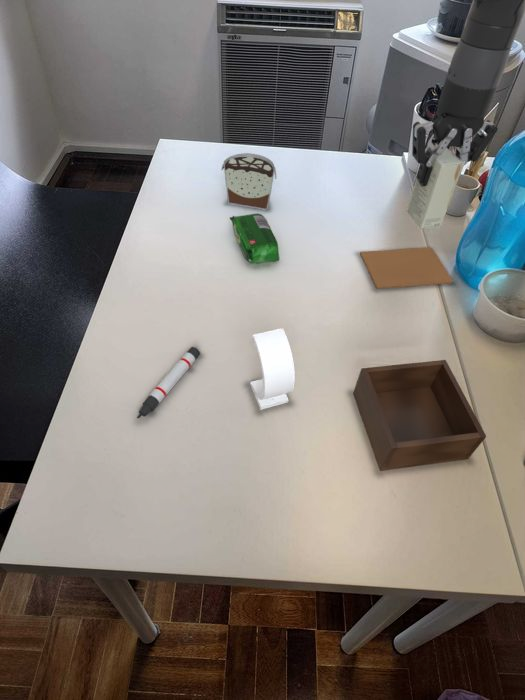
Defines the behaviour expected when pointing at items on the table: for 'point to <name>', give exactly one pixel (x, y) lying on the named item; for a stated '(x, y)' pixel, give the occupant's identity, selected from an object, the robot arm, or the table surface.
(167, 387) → the marker
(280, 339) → the headphone stand
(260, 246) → the snack package
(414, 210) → the cosmetic box
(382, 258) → the mat
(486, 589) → the table surface
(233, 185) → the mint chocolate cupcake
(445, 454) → the compartment
